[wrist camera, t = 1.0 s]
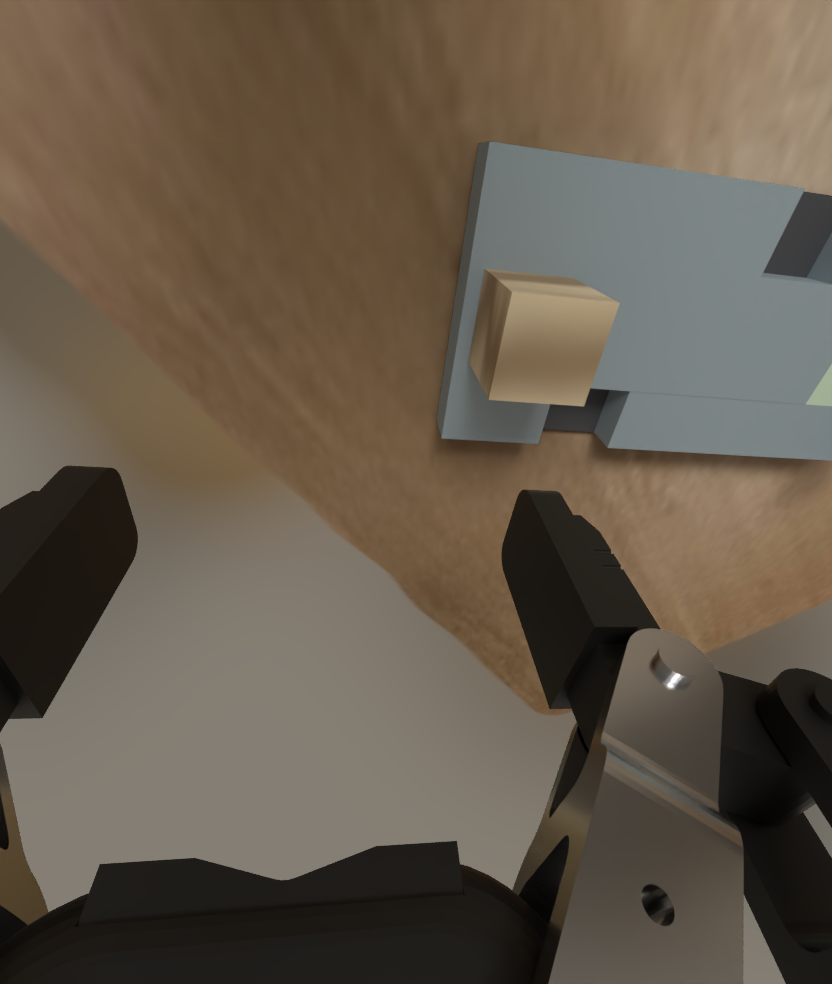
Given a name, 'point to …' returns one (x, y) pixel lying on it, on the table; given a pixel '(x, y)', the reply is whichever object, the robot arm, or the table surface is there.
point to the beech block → (539, 337)
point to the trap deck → (658, 303)
